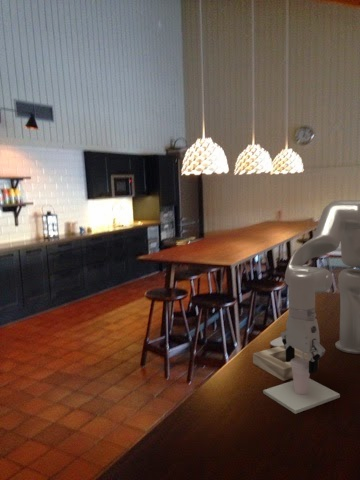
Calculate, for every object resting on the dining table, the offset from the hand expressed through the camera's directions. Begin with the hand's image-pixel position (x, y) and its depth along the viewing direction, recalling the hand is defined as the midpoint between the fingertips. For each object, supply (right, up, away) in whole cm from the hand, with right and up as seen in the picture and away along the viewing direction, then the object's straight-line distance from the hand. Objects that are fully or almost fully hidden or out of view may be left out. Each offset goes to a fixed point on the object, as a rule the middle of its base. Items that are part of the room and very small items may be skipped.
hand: (301, 366), depth 127 cm
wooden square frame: (0, -7, +21) cm, 22 cm away
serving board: (0, -9, +1) cm, 9 cm away
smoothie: (0, -8, +1) cm, 8 cm away
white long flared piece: (+9, -3, +49) cm, 50 cm away
